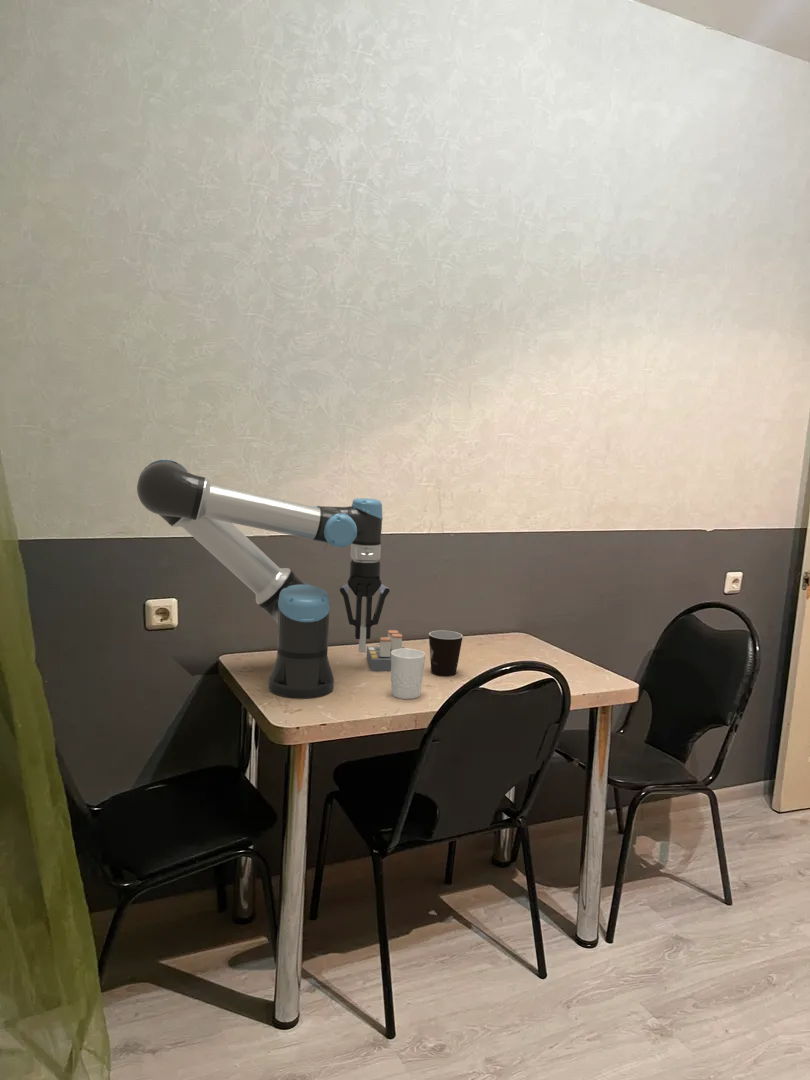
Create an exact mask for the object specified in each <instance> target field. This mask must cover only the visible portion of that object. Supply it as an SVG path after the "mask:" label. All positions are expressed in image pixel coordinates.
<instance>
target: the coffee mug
mask: <svg viewBox="0 0 810 1080" xmlns="http://www.w3.org/2000/svg"><path fill="white" fill-rule="evenodd" d="M463 637H464V636H463V634H462V633H460V632H456V631H454V630H453V631H451V630H443V629H442V630H433V631H429V633H428V641H429V657H430V658H429V659H430V673H431V674H432V675H434V676H437V677H442V678H443V677H445V678H448V677H449V676H450V677H454V676H456V675H457V670H458V666H459V665H458V664H459V660H460V659H459V658H460V653H461V649H462V642H463V639H464V638H463ZM450 677H449V678H450Z"/></svg>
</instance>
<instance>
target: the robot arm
mask: <svg viewBox="0 0 810 1080" xmlns="http://www.w3.org/2000/svg"><path fill="white" fill-rule="evenodd" d="M139 474H140V475H139V477H138V481H137V484H136V493H137V497H138V500H139V501H140V503H141V504H142V505H143V507H144V508H146V509H147V510H148V511H150V512H151V513H152V514H156V515H158V516H159V517H161V518H162V519H163V521H165V522H167V524H168V525H170V527H172V528H173V527H174V528H178V527H180V528H182V529H184V530H185V531H186V532H187V533H188V534H189V535H191V536H192V537H193V538H194V539H195V540H196V542H198V543H199V544H200V545H201V546H203V547H204V549H206V550H207V551H208V553H210V554H211V555H213V556H214V557H215V559H216V560H218V561H219V562H220V563H221V564H222V565H223V566H224V567H226V568H227V570H229V571H230V572H231V573H232V575H234V576H235V578H237V579H239V581H240V582H242V583H243V584H244V585H245V586H247V588H248V589H250V590H251V591H252V592H253V593H254V594H255V603H256V604H257V605H258V607H260V608H261V609H262V610H263V611H264V612H265V613H266V614H267V615H269V616H270V618H272V619H273V620H274V621H275V623H276V624H277V648H276V649H277V650H276V652H277V654H276V658H275V660H274V663H273V666H272V668H271V671H270V674H269V676H268V677H269V678H268V690H269V691H270V692H272V693H273V694H275V695H279V696H281V697H287V698H294V699H308V698H309V699H310V698H317V697H322V696H327V695H329V694H330V693H331V692H333V690H334V687H335V686H334V684H335V679H334V675H333V671H332V668H331V664H330V662H329V661H330V660H329V657H328V647H329V645H328V644H329V623H330V621H329V619H330V611H331V604H330V596H329V593H328V592H327V591H326V590H325V589H323V588H321V587H317V586H315V585H311V584H308V583H307V582H305V581H303V579H301V578H300V576H298V575H297V574H296V573H295V572H294V571H292V569H290V568H289V567H285V568H284V567H282V568H281V567H279V566H278V565H277V564H276V563H275V562H274V561H273V560H272V559H271V558H270V557H268V555H267V554H265V552H263V551H262V550H261V549H260V548H259V547H258V546H257V545H256V544H255V543H254V542H252V540H251V539H249V538H248V537H247V536H246V534H244V532H242V531H241V530H240V529H239V528H238V527H237V526H236V525H239V526H240V525H241V526H245V527H250V528H254V529H260V530H264V531H270V532H275V533H280V534H285V535H288V536H293V537H297V538H303V539H308V540H313V541H316V542H317V541H318V542H321V543H325V544H329V545H331V546H333V547H336V548H346V547H347V546H350V559H351V560H350V562H349V563H350V565H349V567H350V568H349V578H348V580H347V583H346V584H344V585H341V586H339V587H338V590H339V592H340V594H341V596H342V597H343V602H344V603H343V604H344V607H345V611H346V617H347V619H348V620H347V621H348V624H349V625H351V626H354V637H355V639H356V640H358V651H359V654H362V653H363V654H364V653H367V640H370V638H371V629H372V627H373V626H377V625H378V624H379V622H380V617H381V615H382V611H383V608H384V603H385V601H386V597H387V596H388V595H389V594H390V589H389V587H388V586H385V585H384V584H382V580H381V577H380V576H381V562H380V560H381V553H382V552H381V551H382V550H381V548H382V528H383V526H382V525H383V503H382V501H381V500H379V499H376V498H367V497H366V498H364V497H361V498H354V499H353V500H352V504H351V506H323V505H322V506H321V505H315V506H311V505H307V504H303V503H299V502H295V501H290V500H285V499H281V498H275V497H272V496H267V495H265V494H264V495H263V494H258V493H254V492H250V491H245V490H240V489H237V488H232V487H228V486H223V485H219V484H214V483H211V482H210V481H209V480H208V478H207V477H204V476H200V475H196V474H193V473H191V472H189V471H188V470H187V469H186V468H185V466H183V465H182V464H180V463H178V462H177V461H174V460H172V459H157V460H155V461H153V462H151V463H149V464H148V465H147V466H145V467H144V469H143V470H142V471H141V473H139ZM234 524H235V525H234ZM350 590H351V591H352V592H353V594H354V596H355V617H353V612H352V606H351V602H350V598H349V592H350ZM377 591H379V596H378V600H377V603H376V606H375V609H374V614H373V616H372V612H373V611H372V607H373V596H375V594H376V593H377ZM363 597H365V623H364V624H362V607H363V606H362V605H363V603H362V602H363ZM354 618H355V619H354Z"/></svg>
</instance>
